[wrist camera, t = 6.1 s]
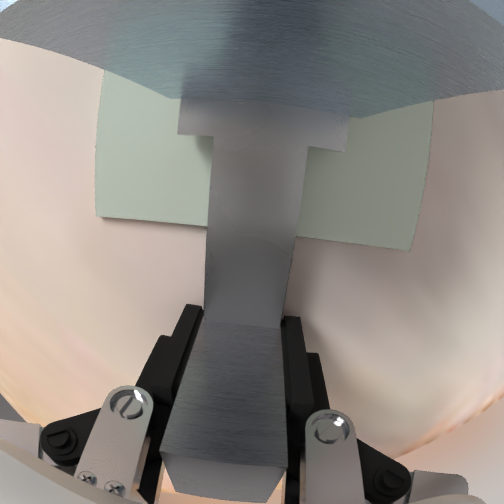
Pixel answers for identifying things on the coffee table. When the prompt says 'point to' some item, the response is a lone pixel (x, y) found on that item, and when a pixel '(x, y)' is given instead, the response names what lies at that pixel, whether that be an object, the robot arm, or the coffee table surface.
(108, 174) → the mat
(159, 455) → the robot arm
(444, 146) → the coffee table surface
